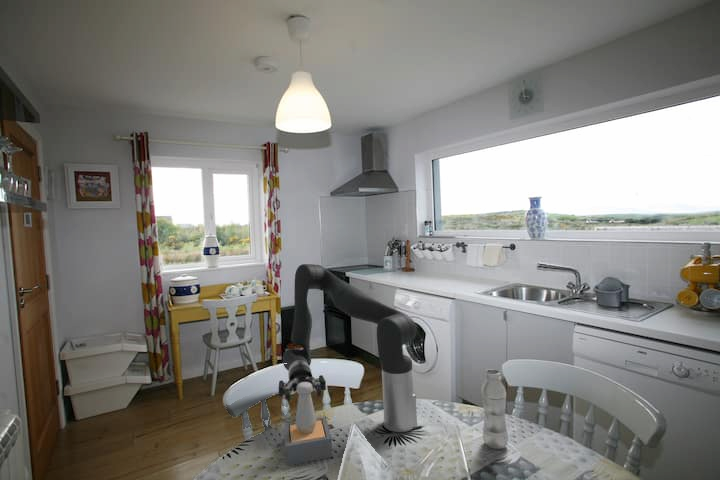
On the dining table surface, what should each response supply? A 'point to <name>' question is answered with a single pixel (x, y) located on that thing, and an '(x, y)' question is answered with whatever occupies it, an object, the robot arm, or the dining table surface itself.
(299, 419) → the salt shaker
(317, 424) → the orange block
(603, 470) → the dining table surface
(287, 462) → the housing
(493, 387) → the plastic bottle
